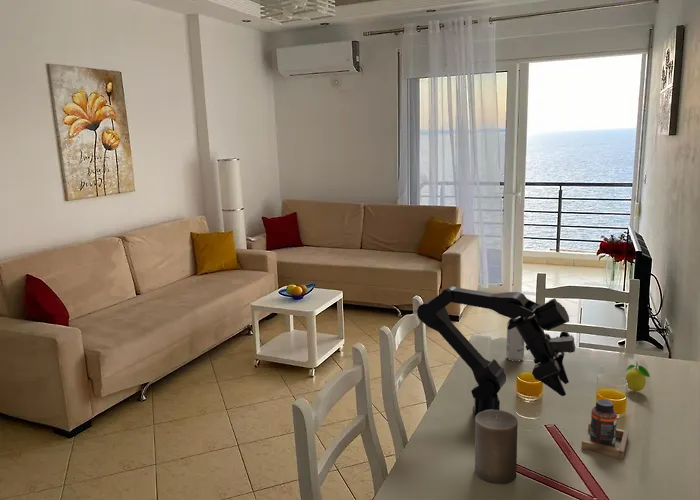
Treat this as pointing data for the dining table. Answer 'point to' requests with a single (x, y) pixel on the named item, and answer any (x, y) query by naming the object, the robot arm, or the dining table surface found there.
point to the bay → (608, 449)
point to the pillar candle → (496, 446)
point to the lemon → (636, 377)
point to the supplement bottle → (603, 423)
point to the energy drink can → (514, 344)
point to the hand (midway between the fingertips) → (565, 389)
